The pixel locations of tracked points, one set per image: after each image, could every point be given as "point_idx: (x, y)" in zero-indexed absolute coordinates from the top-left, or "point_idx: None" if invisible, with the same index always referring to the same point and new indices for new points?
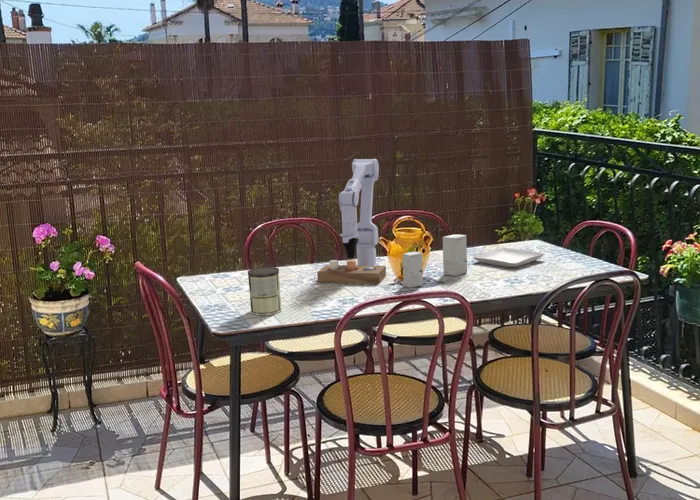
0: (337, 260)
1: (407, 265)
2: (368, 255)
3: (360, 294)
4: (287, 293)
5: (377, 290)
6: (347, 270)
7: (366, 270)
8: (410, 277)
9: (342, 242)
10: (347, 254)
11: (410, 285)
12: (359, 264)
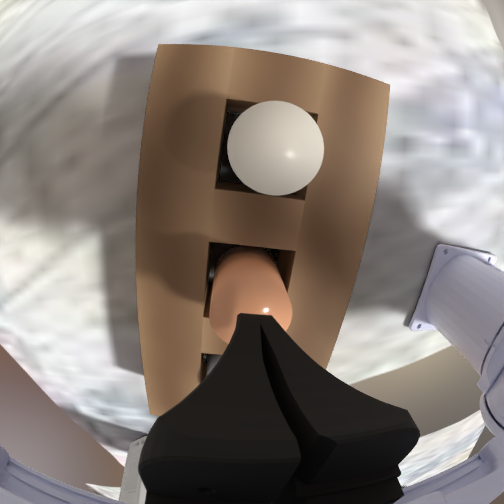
0: (301, 182)
1: (124, 496)
2: (458, 342)
3: (17, 318)
4: (17, 25)
5: (73, 371)
6: (201, 263)
7: (209, 369)
8: (126, 467)
9: (155, 427)
10: (234, 331)
11: (129, 448)
12: (451, 273)
